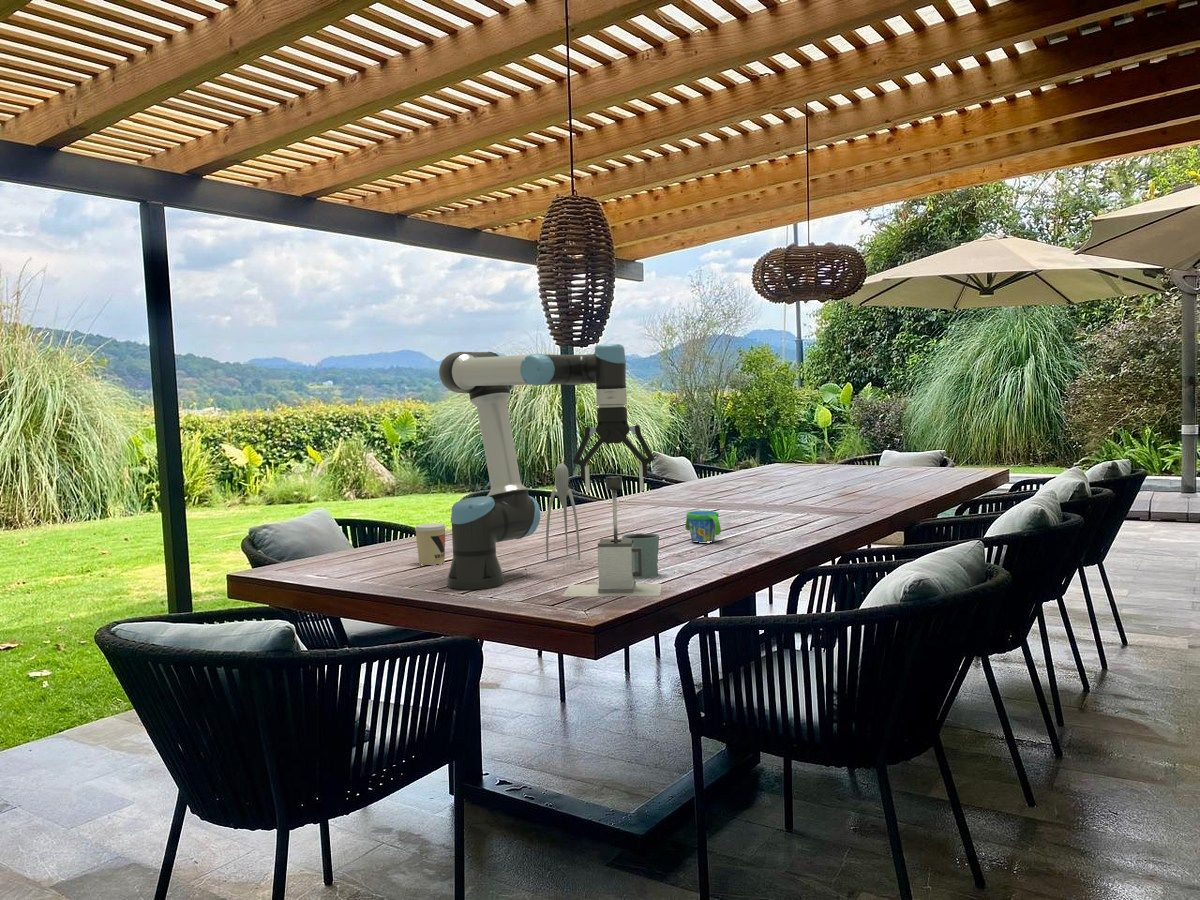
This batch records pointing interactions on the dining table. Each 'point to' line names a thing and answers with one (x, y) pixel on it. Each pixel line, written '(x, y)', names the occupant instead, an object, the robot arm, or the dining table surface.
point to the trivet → (593, 591)
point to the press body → (617, 565)
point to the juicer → (562, 503)
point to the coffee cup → (431, 543)
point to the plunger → (614, 499)
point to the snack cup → (703, 525)
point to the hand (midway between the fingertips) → (614, 491)
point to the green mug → (646, 553)
